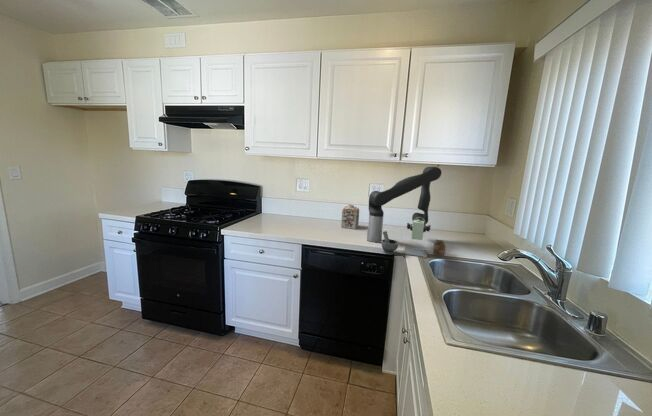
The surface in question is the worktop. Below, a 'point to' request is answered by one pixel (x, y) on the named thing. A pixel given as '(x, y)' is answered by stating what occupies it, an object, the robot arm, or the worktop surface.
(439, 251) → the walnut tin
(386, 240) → the mortar and pestle
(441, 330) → the worktop surface
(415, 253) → the grey square tile
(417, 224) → the pale green block
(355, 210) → the decorative jar
